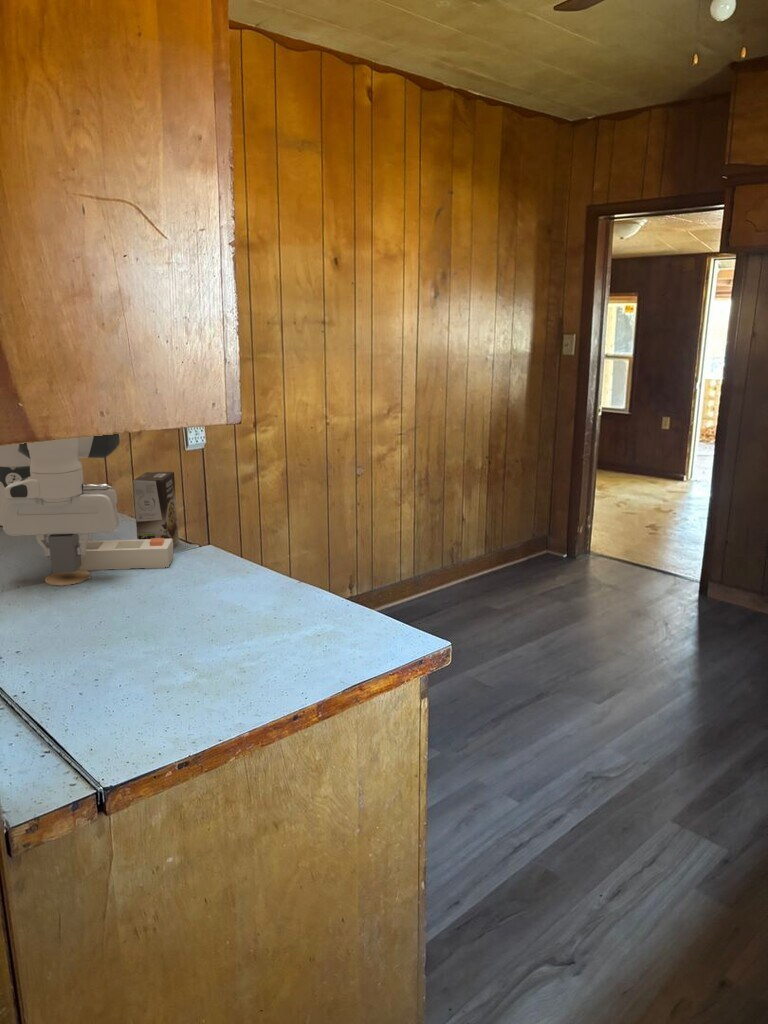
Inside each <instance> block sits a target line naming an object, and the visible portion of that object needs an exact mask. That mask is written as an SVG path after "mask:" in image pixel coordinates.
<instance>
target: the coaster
mask: <svg viewBox="0 0 768 1024" xmlns="http://www.w3.org/2000/svg"><path fill="white" fill-rule="evenodd" d="M89 577H90V578H91V573H90V572H89V570H77V571H76V572H64V573H50V574H49V575H47V576H46V577H45V578H44V579H45V580H44V581H45V583H46V584H47V583H48V584H47V585H49V584H50V586H54V585H61V586H60V587H63V585H66V586H71V584H74V585H77V584H76V583H78V584H81V583H83V582H82V581H84V580H86V581H88V580H89V579H90V578H89ZM88 578H89V579H88ZM87 579H88V580H87ZM80 582H81V583H80ZM84 582H85V581H84Z"/></svg>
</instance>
